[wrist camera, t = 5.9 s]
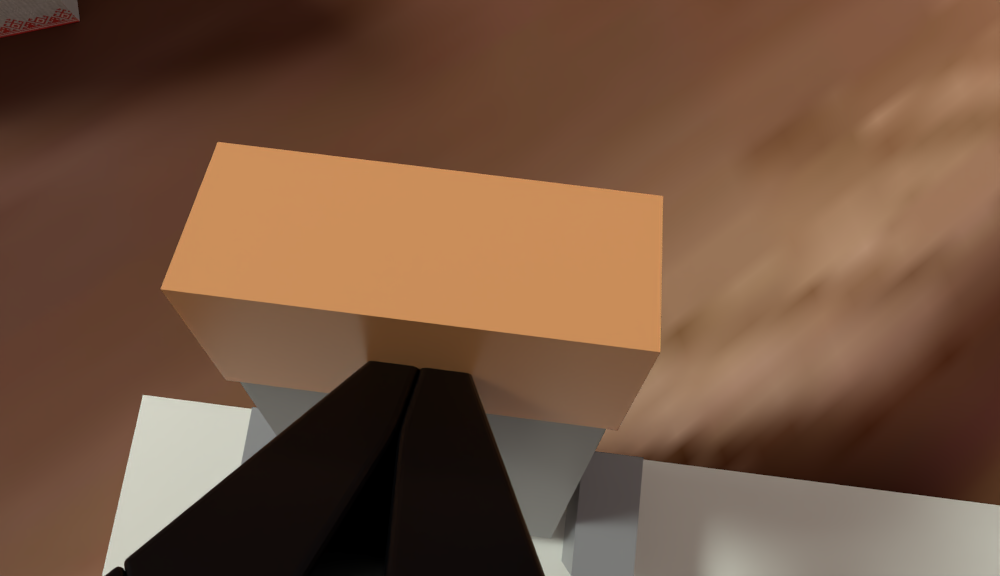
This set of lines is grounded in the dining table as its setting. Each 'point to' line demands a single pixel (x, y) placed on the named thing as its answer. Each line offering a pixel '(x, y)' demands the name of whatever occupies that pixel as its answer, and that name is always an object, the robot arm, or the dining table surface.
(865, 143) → the dining table surface
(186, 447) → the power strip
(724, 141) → the dining table surface
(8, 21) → the grey house block
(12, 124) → the dining table surface
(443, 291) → the lever
